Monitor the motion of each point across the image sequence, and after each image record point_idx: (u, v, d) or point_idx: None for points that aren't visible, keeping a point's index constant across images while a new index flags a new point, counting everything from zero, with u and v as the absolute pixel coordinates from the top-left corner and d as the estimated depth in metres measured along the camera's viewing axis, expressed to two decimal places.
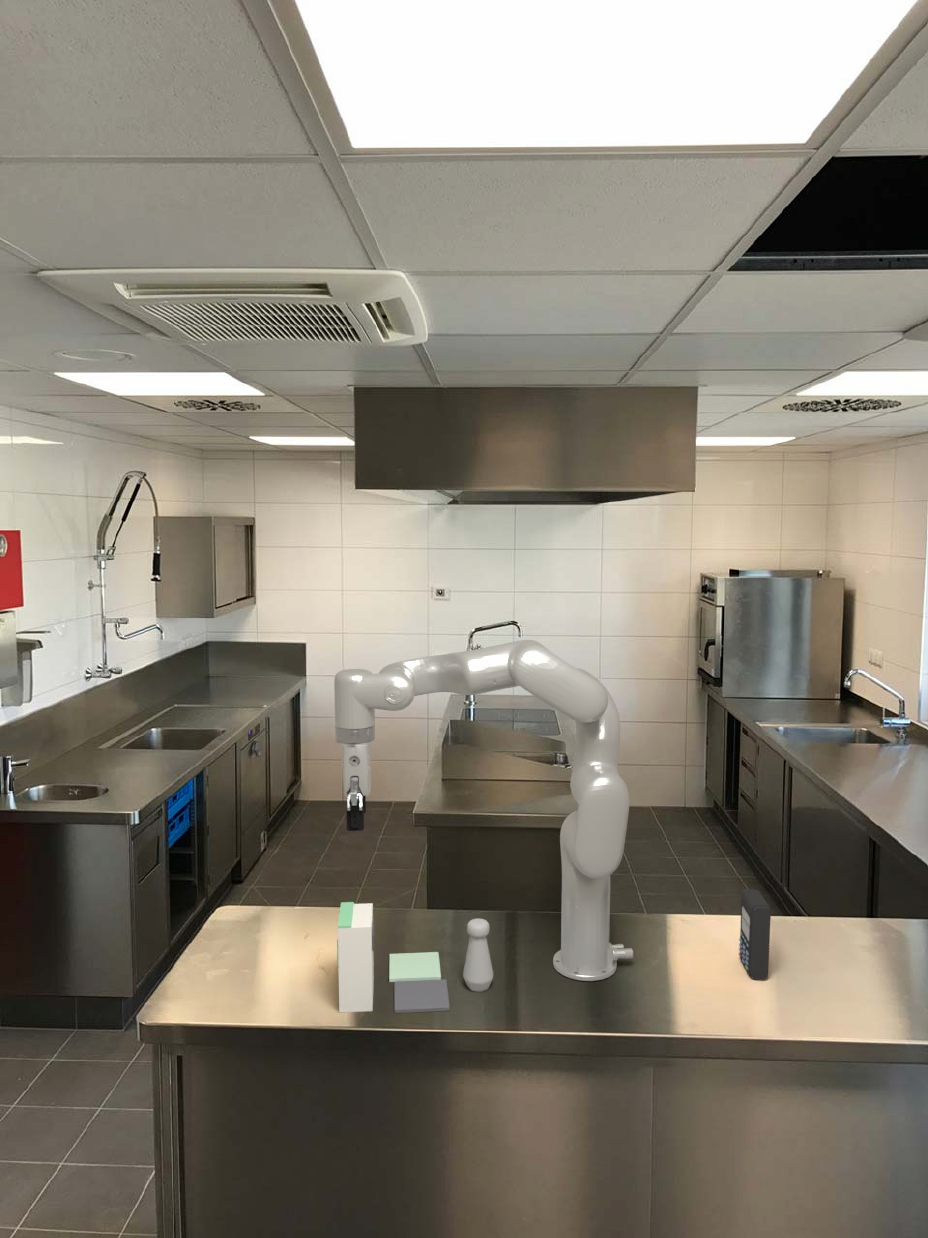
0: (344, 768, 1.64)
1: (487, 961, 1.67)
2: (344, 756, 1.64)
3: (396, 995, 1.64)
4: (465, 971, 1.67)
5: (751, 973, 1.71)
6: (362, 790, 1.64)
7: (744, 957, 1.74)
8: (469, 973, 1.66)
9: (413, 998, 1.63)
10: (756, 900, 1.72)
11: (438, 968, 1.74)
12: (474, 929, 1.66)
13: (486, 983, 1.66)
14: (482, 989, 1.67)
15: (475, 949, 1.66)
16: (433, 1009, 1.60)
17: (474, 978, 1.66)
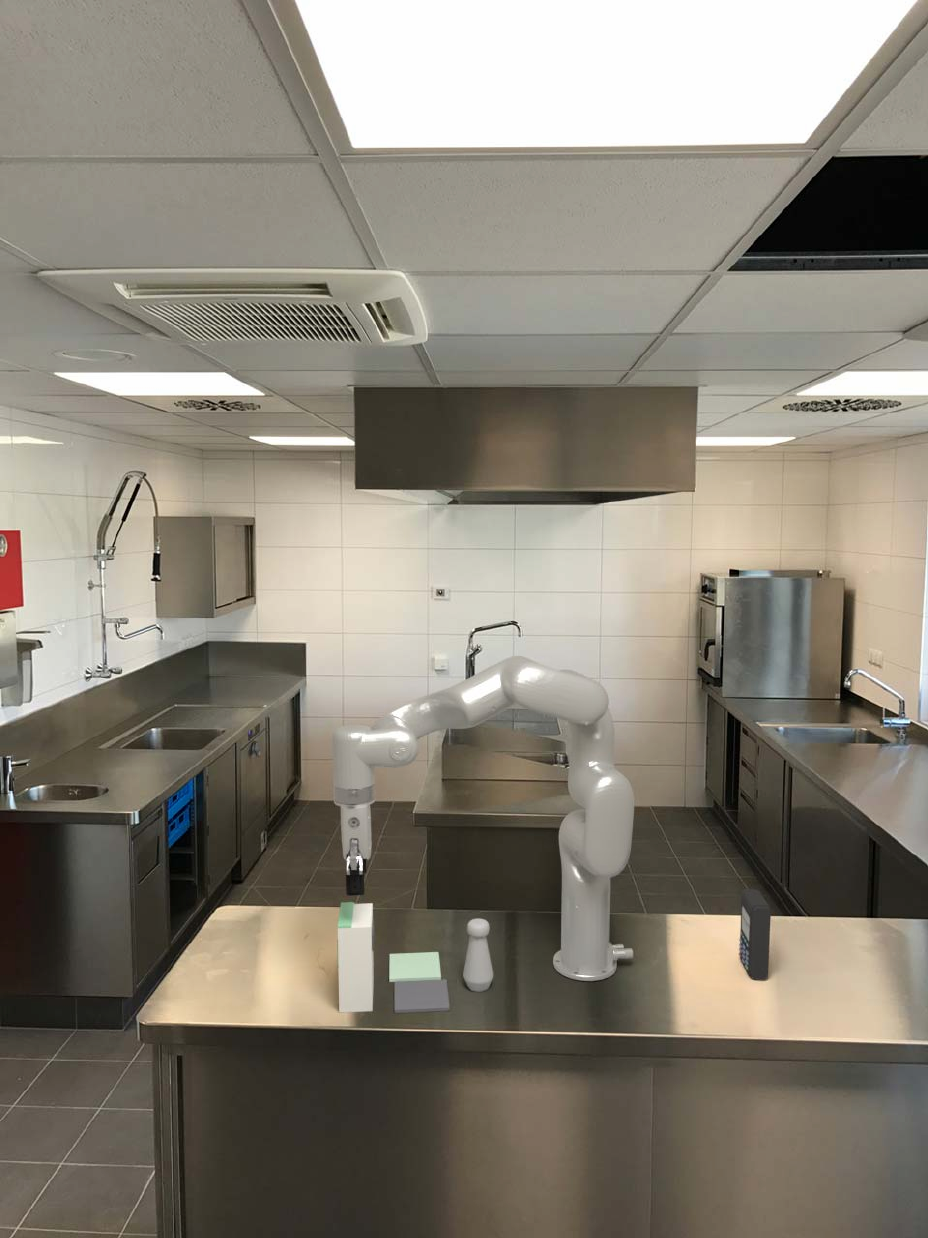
0: (343, 830, 1.56)
1: (487, 961, 1.67)
2: (343, 818, 1.56)
3: (396, 995, 1.64)
4: (465, 971, 1.67)
5: (751, 973, 1.71)
6: (362, 853, 1.56)
7: (744, 957, 1.74)
8: (469, 973, 1.66)
9: (413, 998, 1.63)
10: (756, 900, 1.72)
11: (438, 968, 1.74)
12: (474, 929, 1.66)
13: (486, 983, 1.66)
14: (482, 989, 1.67)
15: (475, 948, 1.66)
16: (433, 1009, 1.60)
17: (474, 978, 1.66)
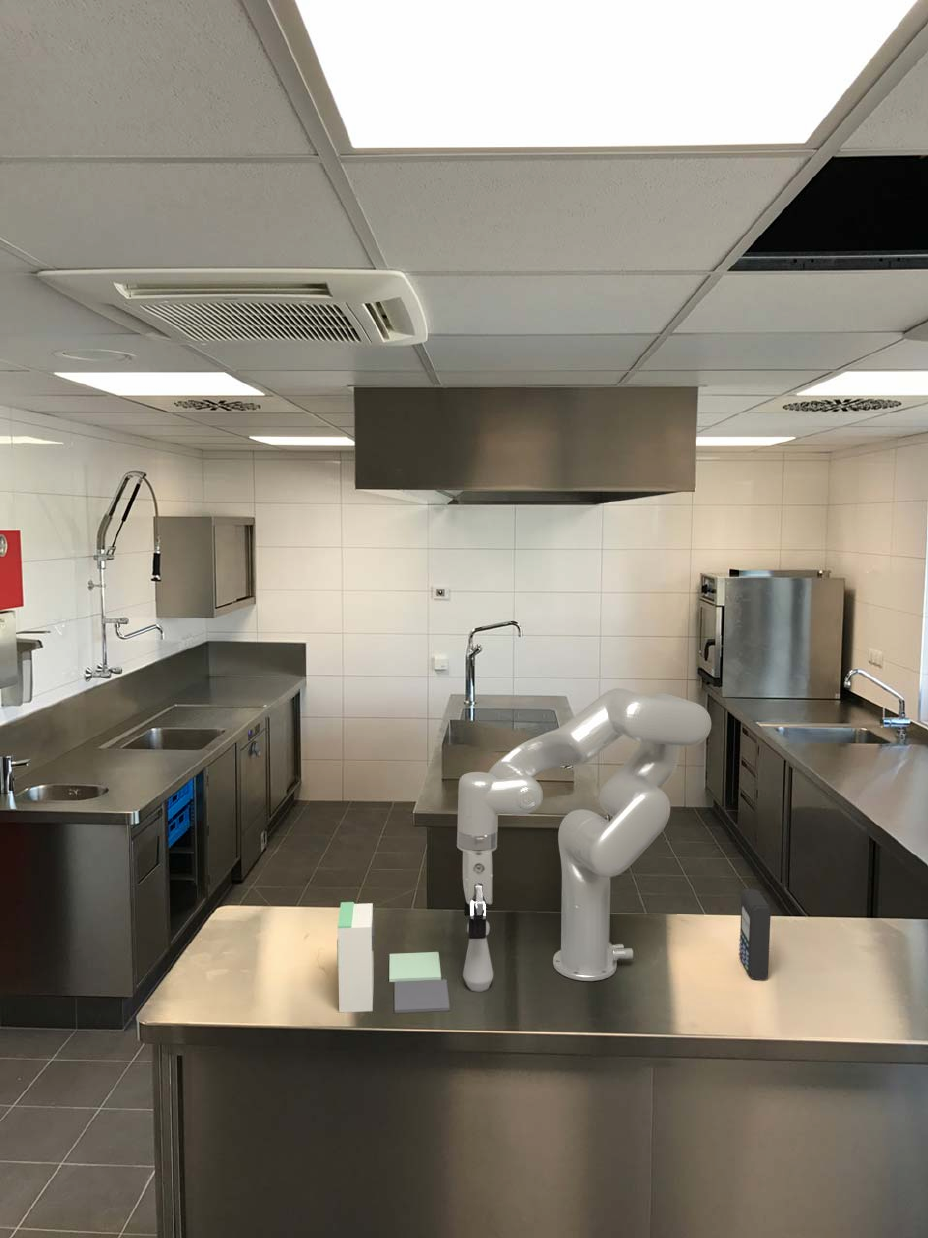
0: (468, 875, 1.61)
1: (487, 961, 1.67)
2: (468, 863, 1.61)
3: (396, 995, 1.64)
4: (465, 971, 1.67)
5: (751, 973, 1.71)
6: (486, 898, 1.61)
7: (744, 957, 1.74)
8: (469, 973, 1.66)
9: (413, 998, 1.63)
10: (756, 900, 1.72)
11: (438, 968, 1.74)
12: None
13: (486, 983, 1.66)
14: (482, 989, 1.67)
15: (475, 948, 1.66)
16: (433, 1009, 1.60)
17: (474, 978, 1.66)
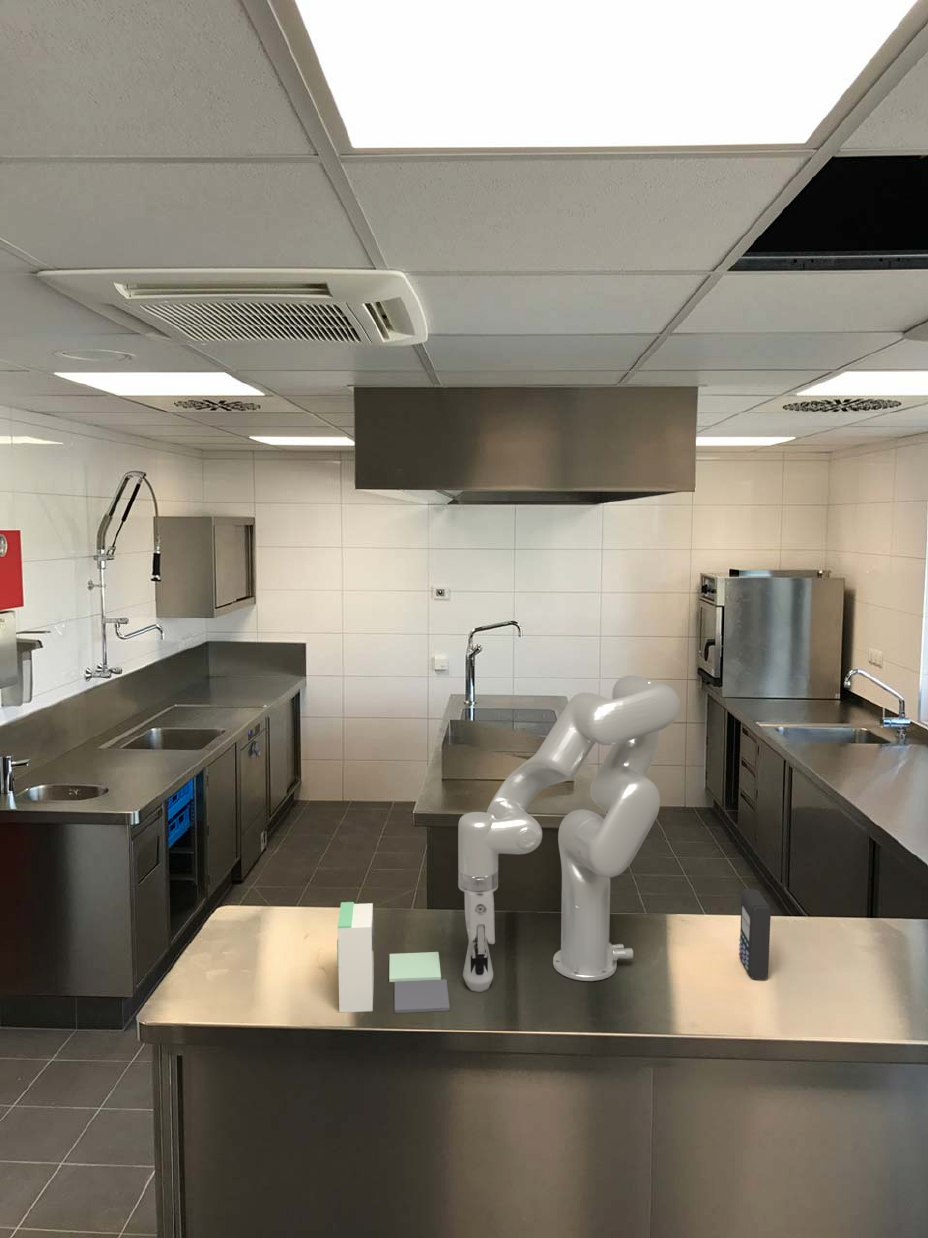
0: (470, 916, 1.62)
1: None
2: (470, 904, 1.62)
3: (396, 995, 1.64)
4: (465, 971, 1.67)
5: (751, 973, 1.71)
6: None
7: (744, 957, 1.74)
8: (469, 973, 1.66)
9: (413, 998, 1.63)
10: (756, 900, 1.72)
11: (438, 968, 1.74)
12: None
13: (486, 983, 1.66)
14: (482, 989, 1.67)
15: None
16: (433, 1009, 1.60)
17: (474, 978, 1.66)
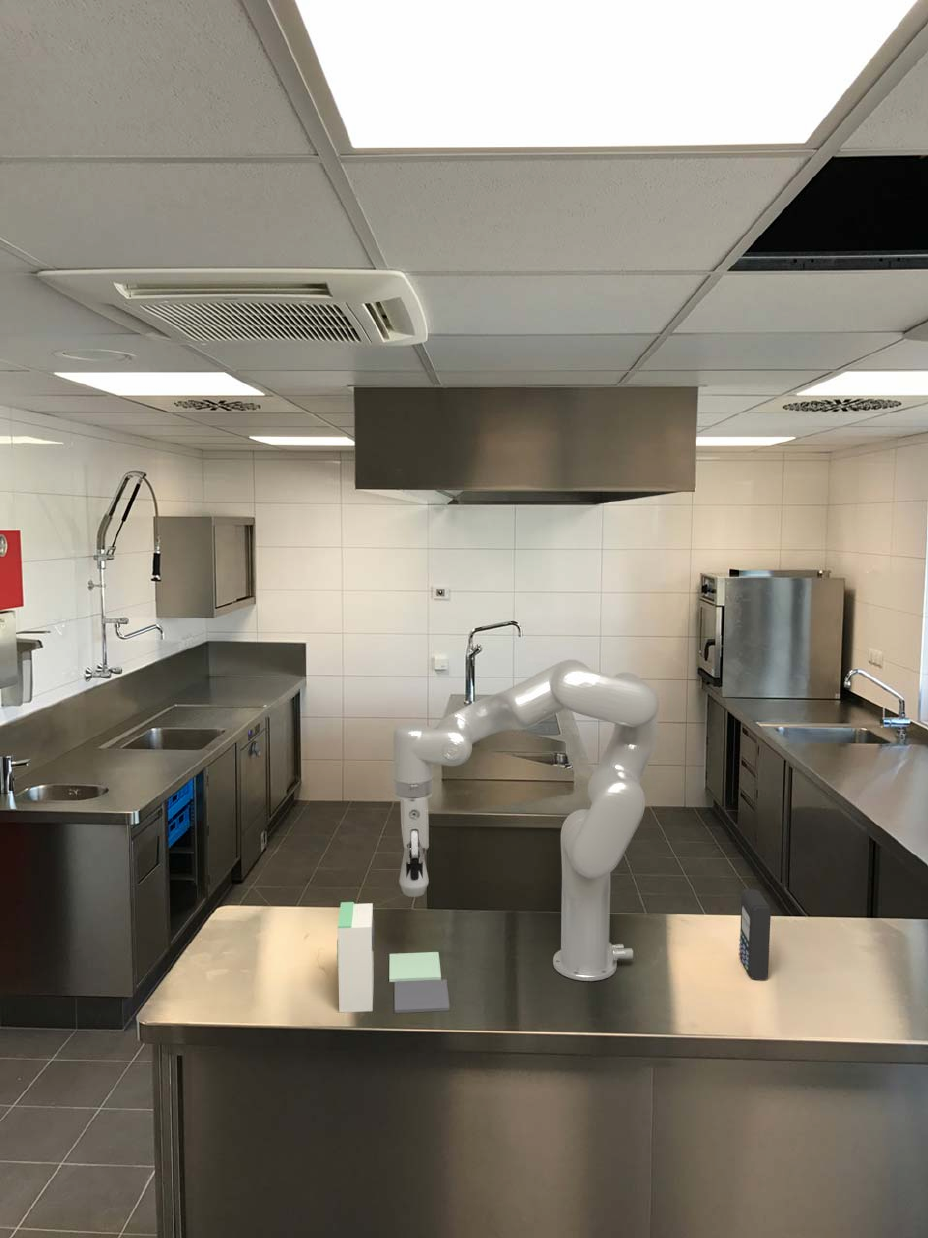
0: (404, 821, 1.68)
1: None
2: (404, 810, 1.68)
3: (396, 995, 1.64)
4: (401, 877, 1.73)
5: (751, 973, 1.71)
6: None
7: (744, 957, 1.74)
8: (404, 879, 1.71)
9: (413, 998, 1.63)
10: (756, 900, 1.72)
11: (438, 968, 1.74)
12: None
13: (421, 888, 1.72)
14: (417, 894, 1.72)
15: None
16: (433, 1009, 1.60)
17: (409, 883, 1.71)
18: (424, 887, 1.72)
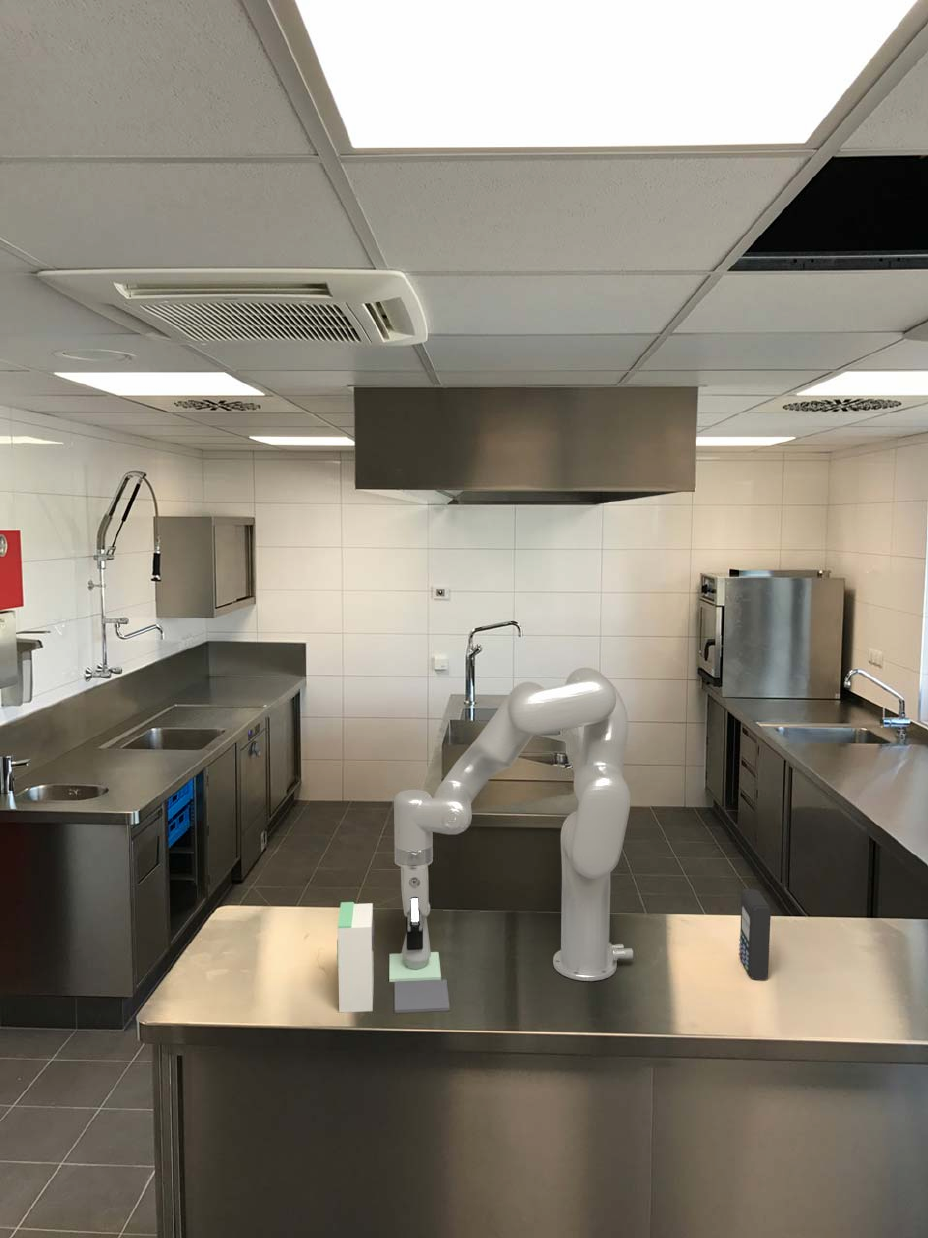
0: (404, 889, 1.69)
1: (425, 941, 1.74)
2: (404, 878, 1.69)
3: (396, 995, 1.64)
4: (404, 949, 1.74)
5: (751, 973, 1.71)
6: (422, 914, 1.70)
7: (744, 957, 1.74)
8: (407, 951, 1.73)
9: (413, 998, 1.63)
10: (756, 900, 1.72)
11: (438, 968, 1.74)
12: None
13: (423, 961, 1.73)
14: (418, 967, 1.74)
15: None
16: (433, 1009, 1.60)
17: (411, 956, 1.73)
18: (426, 960, 1.74)
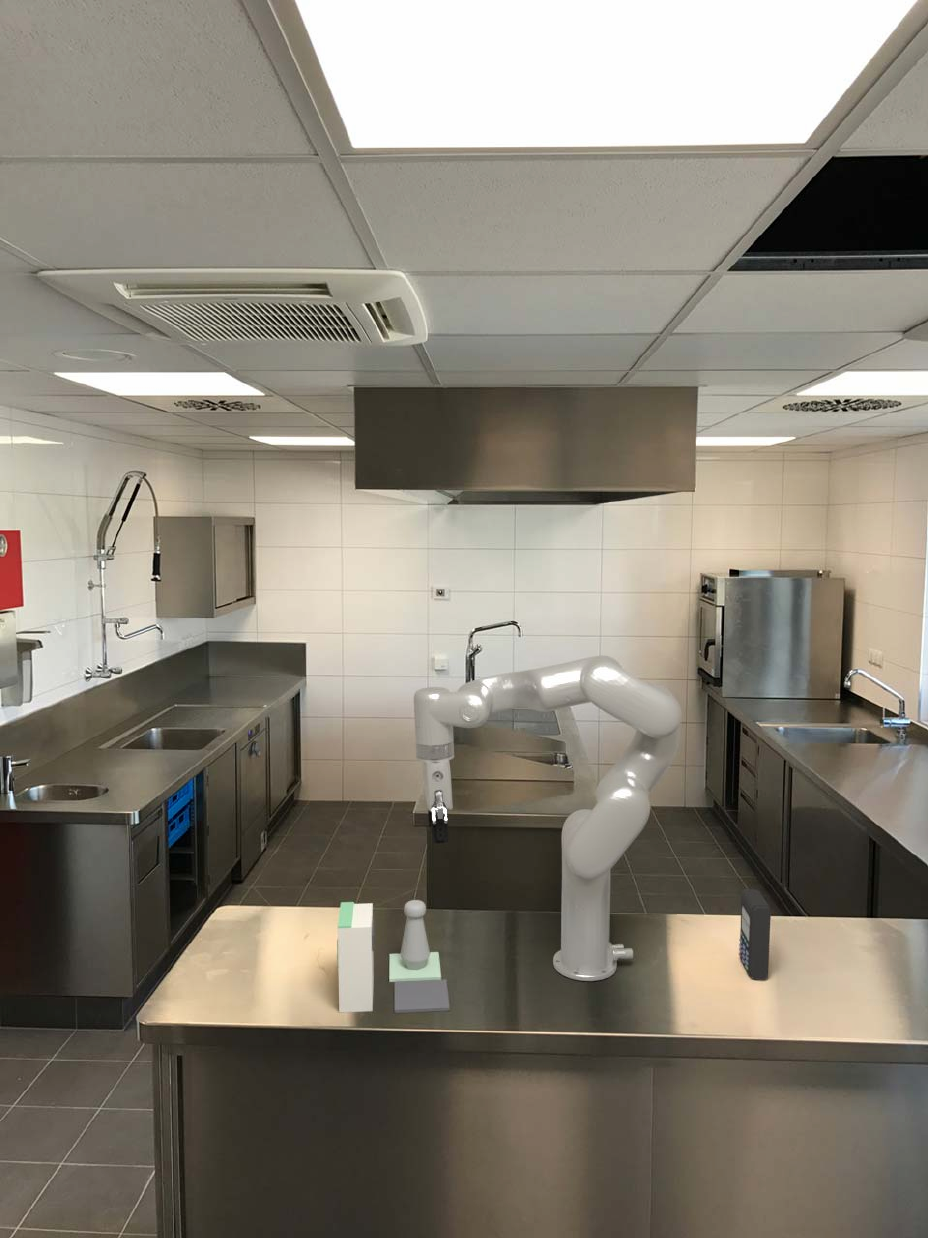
0: (428, 783, 1.70)
1: (423, 941, 1.74)
2: (427, 772, 1.70)
3: (396, 995, 1.64)
4: (402, 950, 1.74)
5: (751, 973, 1.71)
6: (446, 804, 1.70)
7: (744, 957, 1.74)
8: (406, 952, 1.73)
9: (413, 998, 1.63)
10: (756, 900, 1.72)
11: (438, 968, 1.74)
12: (410, 910, 1.72)
13: (422, 962, 1.73)
14: (418, 967, 1.74)
15: (411, 928, 1.73)
16: (433, 1009, 1.60)
17: (410, 957, 1.73)
18: (425, 960, 1.74)
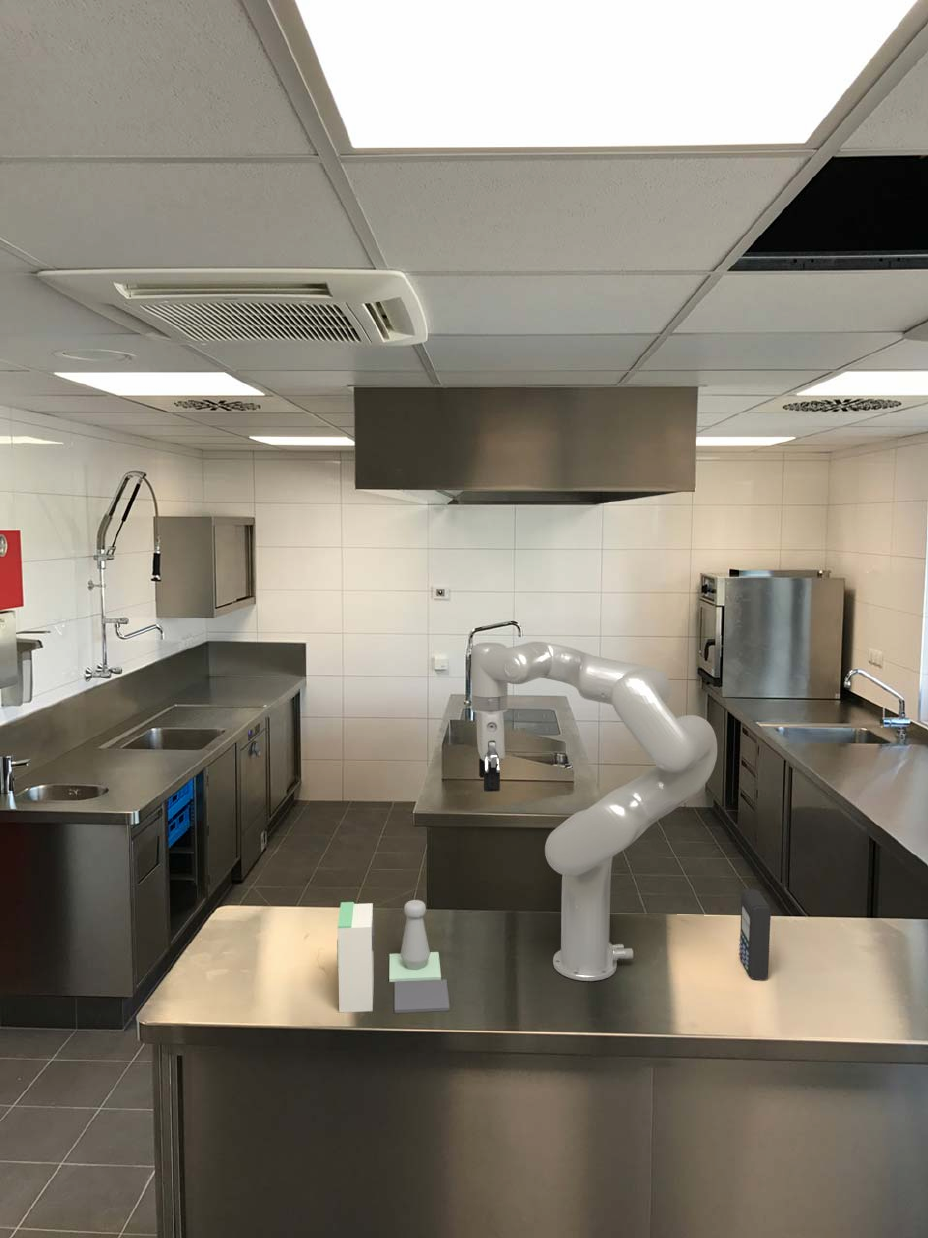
0: (482, 733, 1.77)
1: (423, 941, 1.74)
2: (482, 722, 1.77)
3: (396, 995, 1.64)
4: (402, 950, 1.74)
5: (751, 973, 1.71)
6: (499, 754, 1.77)
7: (744, 957, 1.74)
8: (406, 952, 1.73)
9: (413, 998, 1.63)
10: (756, 900, 1.72)
11: (438, 968, 1.74)
12: (410, 910, 1.72)
13: (422, 962, 1.73)
14: (418, 967, 1.74)
15: (411, 928, 1.73)
16: (433, 1009, 1.60)
17: (410, 957, 1.73)
18: (425, 960, 1.74)
